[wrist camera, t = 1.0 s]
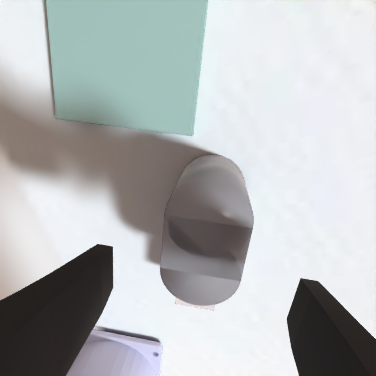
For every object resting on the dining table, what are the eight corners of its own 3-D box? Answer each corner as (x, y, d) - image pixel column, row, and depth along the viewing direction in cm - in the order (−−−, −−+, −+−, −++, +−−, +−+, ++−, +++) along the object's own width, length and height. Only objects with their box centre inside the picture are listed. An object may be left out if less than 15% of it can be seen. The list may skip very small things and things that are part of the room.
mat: (193, 134, 14) (191, 136, 14) (61, 117, 15) (55, 118, 15) (212, -41, 11) (212, -46, 11) (47, -53, 12) (40, -59, 12)
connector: (226, 280, 18) (227, 337, 14) (170, 270, 18) (155, 324, 14) (250, 159, 15) (262, 186, 10) (182, 150, 15) (167, 173, 11)
